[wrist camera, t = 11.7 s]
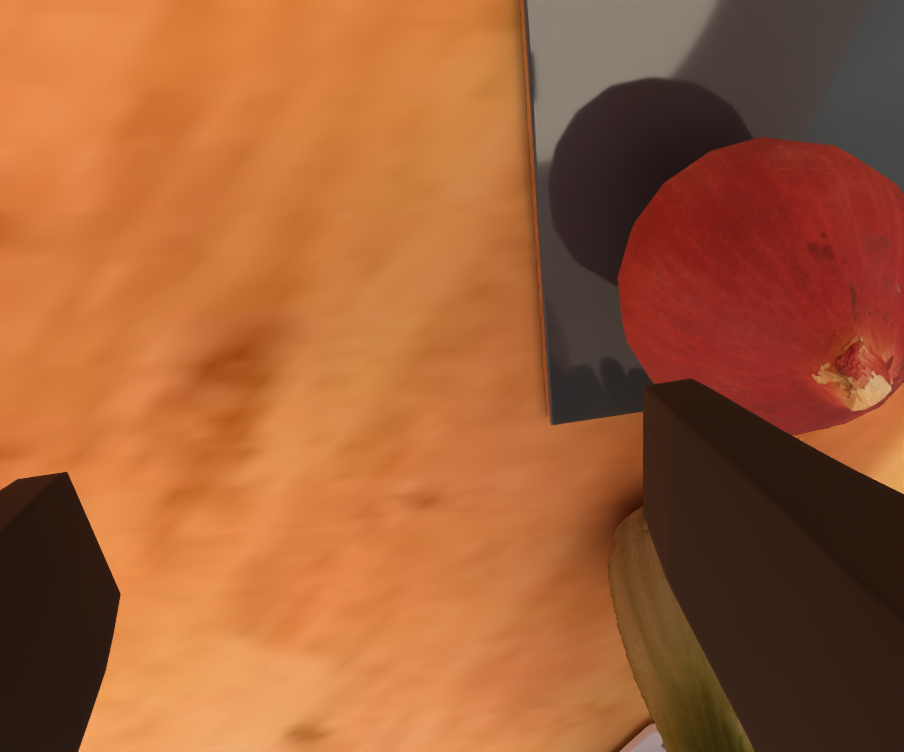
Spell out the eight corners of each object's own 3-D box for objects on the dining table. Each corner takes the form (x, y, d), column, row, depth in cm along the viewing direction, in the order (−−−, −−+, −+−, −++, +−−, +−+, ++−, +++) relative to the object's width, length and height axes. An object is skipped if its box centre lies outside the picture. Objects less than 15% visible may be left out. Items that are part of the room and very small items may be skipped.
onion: (854, 125, 19) (1150, 242, 12) (768, 346, 21) (966, 549, 14) (616, 87, 18) (781, 189, 11) (557, 323, 20) (659, 528, 13)
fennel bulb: (561, 539, 25) (707, 989, 14) (676, 429, 23) (937, 845, 13) (686, 615, 27) (893, 1054, 16) (799, 520, 25) (1109, 938, 15)
